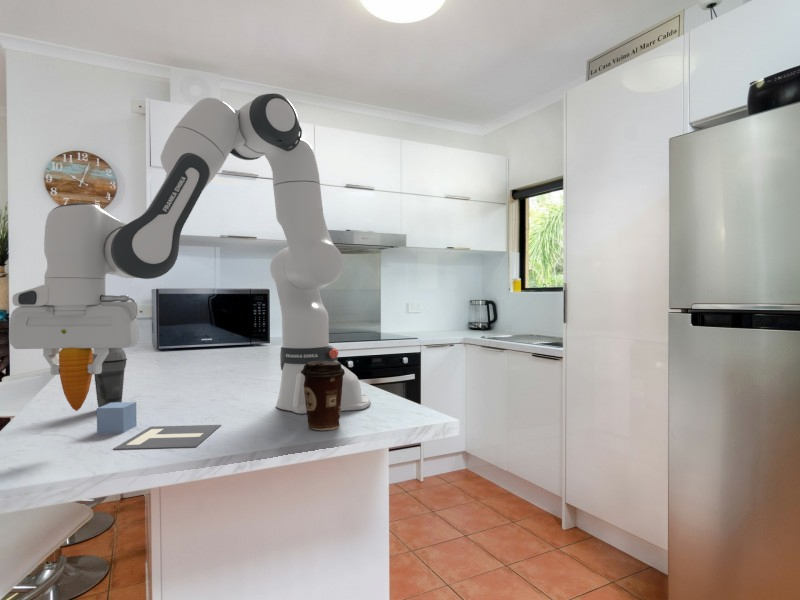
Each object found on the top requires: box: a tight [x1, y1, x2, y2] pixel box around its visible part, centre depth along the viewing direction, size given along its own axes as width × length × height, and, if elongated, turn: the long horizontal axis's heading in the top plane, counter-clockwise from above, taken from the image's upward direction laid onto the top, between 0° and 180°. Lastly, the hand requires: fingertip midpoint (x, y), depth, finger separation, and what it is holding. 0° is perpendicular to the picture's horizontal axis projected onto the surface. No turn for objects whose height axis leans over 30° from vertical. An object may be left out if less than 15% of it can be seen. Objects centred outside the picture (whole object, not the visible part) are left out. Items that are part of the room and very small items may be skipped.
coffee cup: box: [301, 361, 345, 432], centre depth 95 cm, size 9×8×13 cm
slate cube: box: [96, 401, 138, 434], centre depth 94 cm, size 5×5×5 cm
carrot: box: [58, 329, 94, 412], centre depth 83 cm, size 5×5×15 cm
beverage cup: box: [93, 348, 128, 408], centre depth 111 cm, size 7×7×20 cm
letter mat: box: [112, 424, 222, 451], centre depth 89 cm, size 14×14×1 cm
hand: (76, 374), depth 83 cm, fingers closed on carrot, 5 cm apart
